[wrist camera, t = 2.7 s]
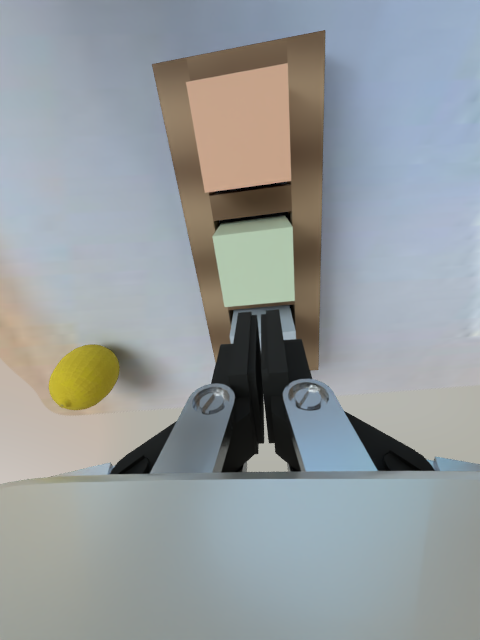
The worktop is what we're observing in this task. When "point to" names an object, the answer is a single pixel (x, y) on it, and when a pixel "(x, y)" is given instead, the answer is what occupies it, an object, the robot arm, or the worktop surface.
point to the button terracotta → (242, 128)
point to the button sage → (255, 261)
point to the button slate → (284, 310)
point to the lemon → (84, 377)
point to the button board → (290, 197)
